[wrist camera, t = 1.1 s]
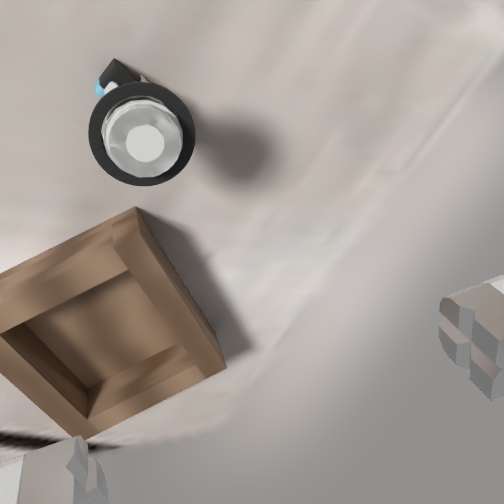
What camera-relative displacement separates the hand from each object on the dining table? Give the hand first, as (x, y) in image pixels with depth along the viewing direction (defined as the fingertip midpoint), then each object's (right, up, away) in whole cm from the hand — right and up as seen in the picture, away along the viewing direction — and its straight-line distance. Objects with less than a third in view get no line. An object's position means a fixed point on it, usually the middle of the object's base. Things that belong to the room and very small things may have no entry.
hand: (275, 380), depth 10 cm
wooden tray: (-13, -3, +29) cm, 32 cm away
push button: (-8, +13, +22) cm, 27 cm away
